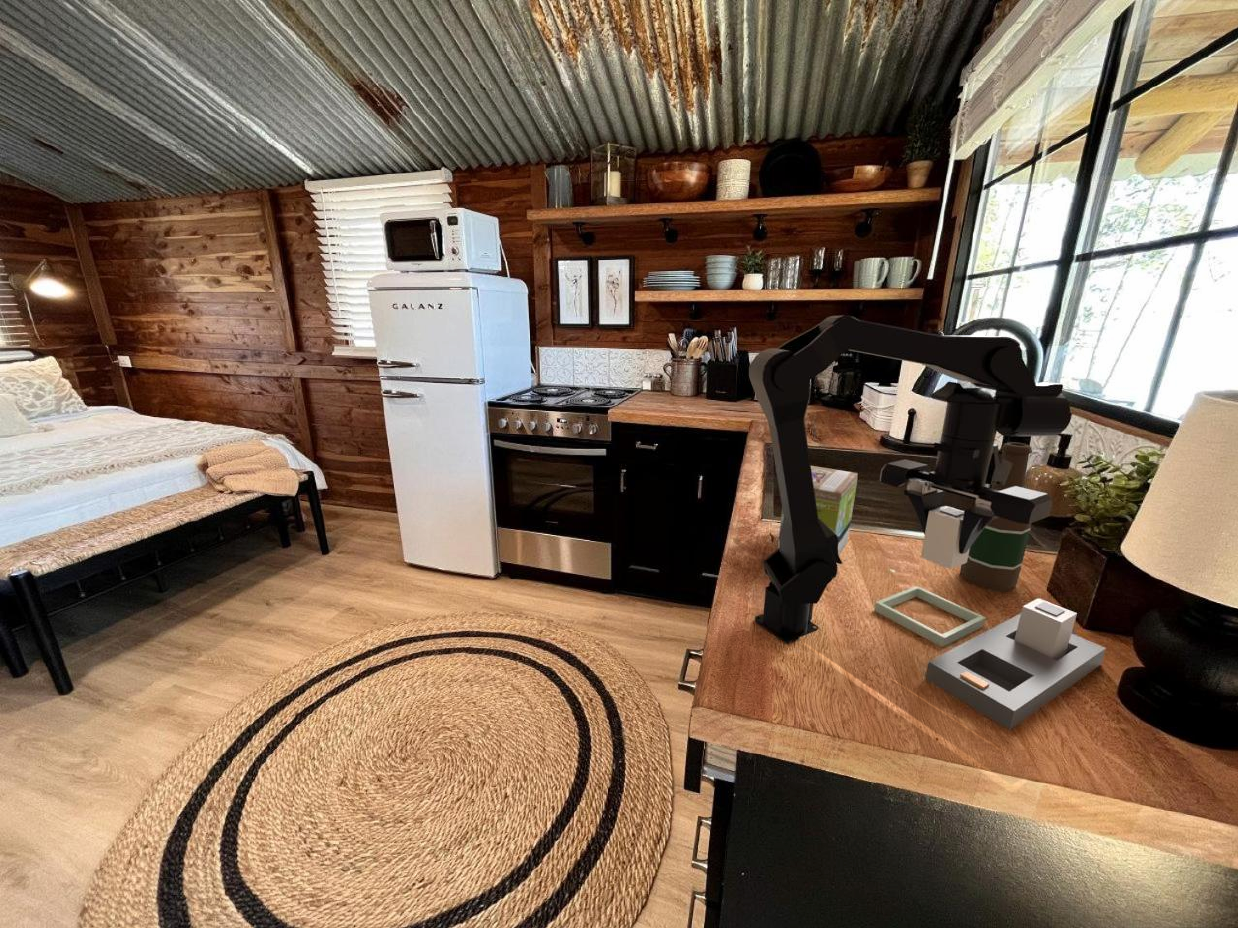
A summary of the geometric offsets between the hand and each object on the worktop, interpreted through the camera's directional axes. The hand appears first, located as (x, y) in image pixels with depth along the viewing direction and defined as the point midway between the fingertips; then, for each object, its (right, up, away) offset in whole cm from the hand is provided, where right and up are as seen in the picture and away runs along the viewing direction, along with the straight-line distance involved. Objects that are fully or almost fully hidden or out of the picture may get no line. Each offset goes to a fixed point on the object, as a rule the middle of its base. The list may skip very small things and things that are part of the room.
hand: (945, 546), depth 68 cm
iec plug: (0, -2, +1) cm, 2 cm away
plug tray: (0, -12, +4) cm, 12 cm away
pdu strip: (+5, -15, -6) cm, 17 cm away
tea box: (-7, -5, +28) cm, 29 cm away
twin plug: (+9, -14, -4) cm, 17 cm away
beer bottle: (+17, -9, +15) cm, 24 cm away
